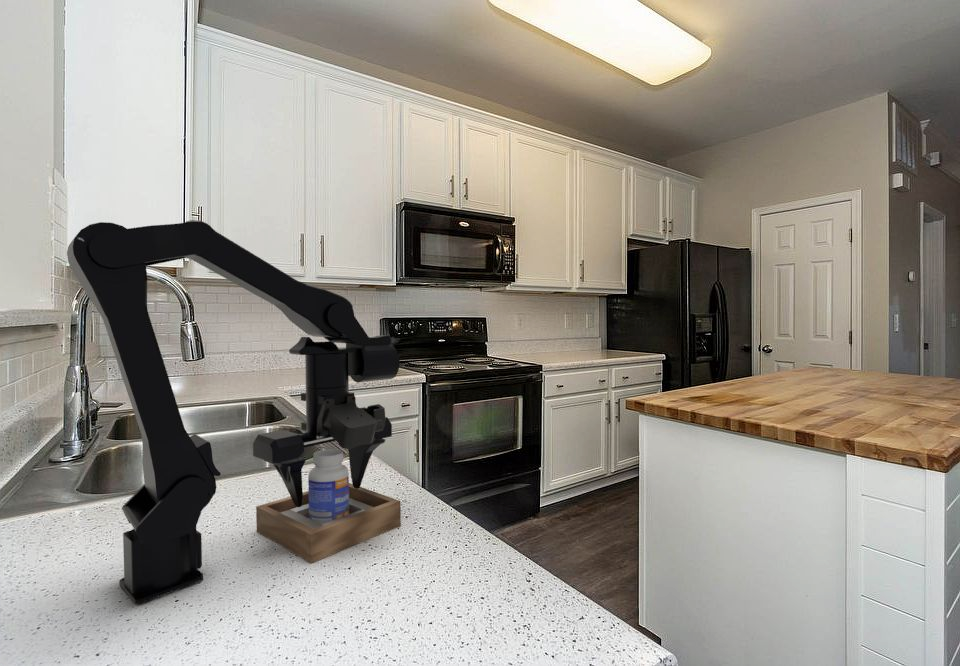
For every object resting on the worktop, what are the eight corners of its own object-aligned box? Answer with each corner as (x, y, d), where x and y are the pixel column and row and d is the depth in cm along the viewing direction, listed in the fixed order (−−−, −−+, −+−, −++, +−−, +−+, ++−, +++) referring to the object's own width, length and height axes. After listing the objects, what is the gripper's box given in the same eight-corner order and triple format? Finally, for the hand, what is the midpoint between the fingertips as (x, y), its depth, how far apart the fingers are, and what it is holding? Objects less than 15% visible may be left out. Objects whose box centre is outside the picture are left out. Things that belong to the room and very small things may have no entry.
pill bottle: (342, 529, 65) (341, 457, 65) (302, 529, 66) (301, 457, 65) (354, 514, 71) (353, 447, 71) (317, 513, 71) (316, 447, 71)
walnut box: (311, 563, 58) (310, 534, 58) (256, 531, 67) (256, 506, 67) (400, 525, 69) (400, 500, 69) (343, 502, 78) (342, 480, 78)
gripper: (295, 400, 55) (297, 535, 56) (416, 383, 70) (417, 491, 70) (250, 391, 63) (252, 511, 63) (368, 378, 77) (369, 475, 77)
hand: (328, 496), depth 68 cm, fingers open, 9 cm apart
